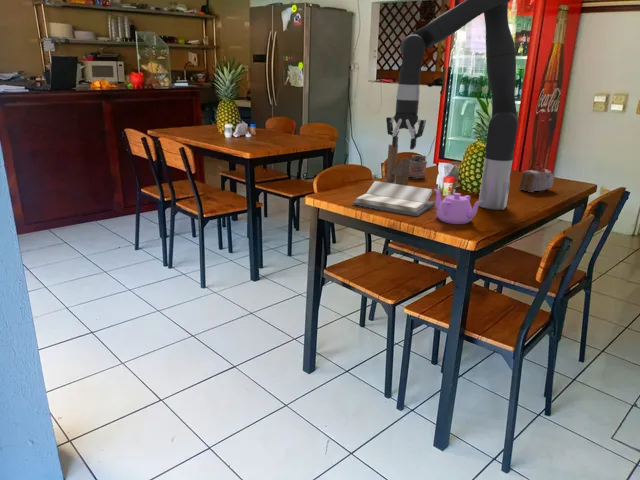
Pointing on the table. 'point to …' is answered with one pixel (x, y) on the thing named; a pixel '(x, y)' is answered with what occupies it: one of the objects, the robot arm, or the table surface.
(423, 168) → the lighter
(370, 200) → the white flat slab
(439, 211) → the teapot
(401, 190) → the loose plank
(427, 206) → the underlay mat
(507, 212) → the table surface
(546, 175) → the food item
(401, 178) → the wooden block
